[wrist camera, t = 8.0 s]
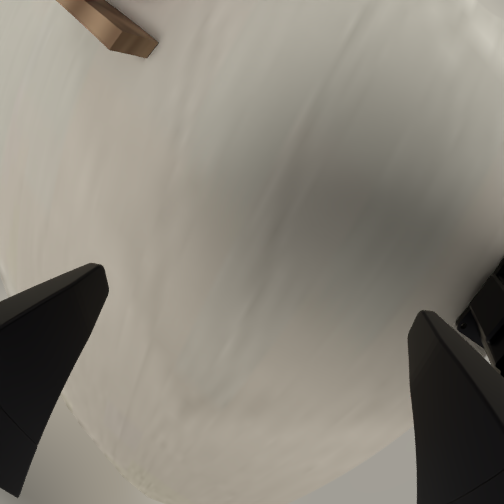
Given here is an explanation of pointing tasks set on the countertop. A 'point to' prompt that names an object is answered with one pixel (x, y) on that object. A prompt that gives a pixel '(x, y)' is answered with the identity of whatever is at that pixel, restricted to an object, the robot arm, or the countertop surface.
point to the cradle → (111, 27)
